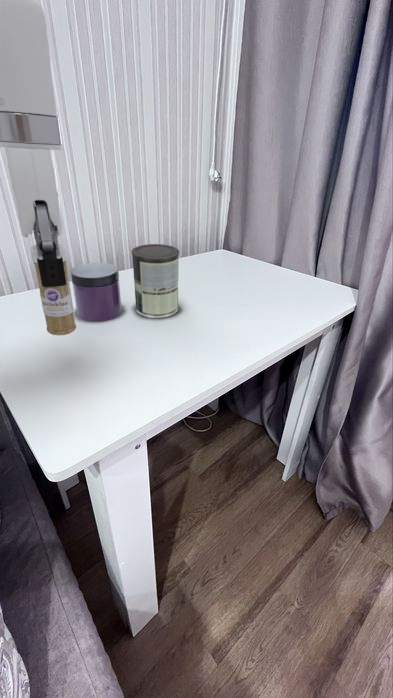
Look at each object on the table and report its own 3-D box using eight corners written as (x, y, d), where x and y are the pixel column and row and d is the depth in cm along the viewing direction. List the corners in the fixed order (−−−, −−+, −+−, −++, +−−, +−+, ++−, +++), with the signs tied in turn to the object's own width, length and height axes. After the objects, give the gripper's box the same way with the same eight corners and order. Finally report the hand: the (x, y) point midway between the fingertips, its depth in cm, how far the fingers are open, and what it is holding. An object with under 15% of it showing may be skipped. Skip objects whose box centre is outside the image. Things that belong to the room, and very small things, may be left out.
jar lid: (74, 289, 67) (73, 280, 66) (69, 272, 75) (68, 264, 74) (123, 283, 71) (122, 275, 70) (113, 268, 78) (112, 260, 77)
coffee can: (126, 310, 79) (121, 250, 71) (155, 296, 86) (153, 241, 78) (159, 323, 74) (157, 261, 66) (187, 307, 81) (188, 250, 73)
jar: (80, 324, 72) (73, 283, 67) (75, 305, 79) (68, 267, 74) (126, 317, 75) (122, 277, 70) (116, 300, 83) (113, 263, 78)
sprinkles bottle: (47, 338, 51) (29, 251, 44) (46, 325, 55) (29, 242, 48) (78, 334, 53) (66, 250, 46) (75, 321, 56) (63, 241, 49)
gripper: (-4, 130, 45) (25, 263, 54) (-15, 131, 32) (26, 305, 42) (55, 134, 47) (73, 260, 57) (68, 137, 35) (87, 298, 44)
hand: (53, 277), depth 49 cm, fingers closed on sprinkles bottle, 4 cm apart
